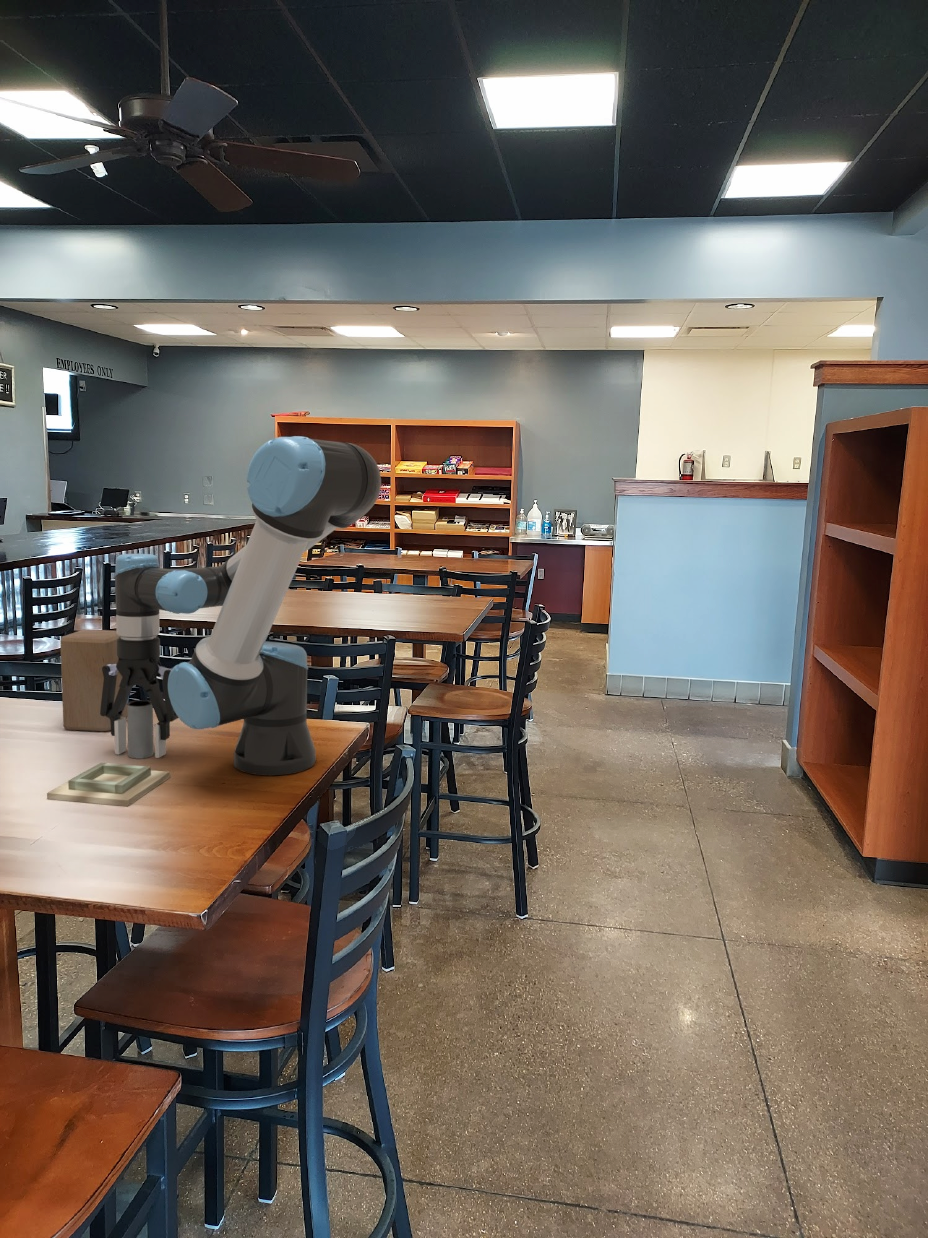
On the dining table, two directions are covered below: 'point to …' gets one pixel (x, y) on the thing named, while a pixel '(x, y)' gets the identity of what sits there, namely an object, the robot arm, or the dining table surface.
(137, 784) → the stand
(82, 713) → the block
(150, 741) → the grey hollow tube
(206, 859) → the dining table surface
